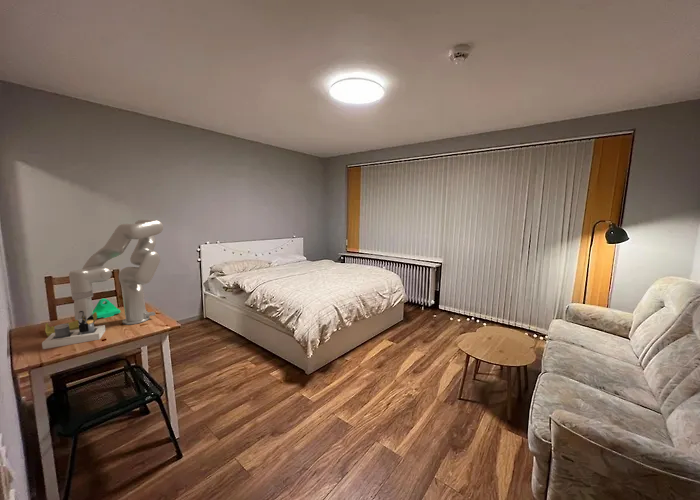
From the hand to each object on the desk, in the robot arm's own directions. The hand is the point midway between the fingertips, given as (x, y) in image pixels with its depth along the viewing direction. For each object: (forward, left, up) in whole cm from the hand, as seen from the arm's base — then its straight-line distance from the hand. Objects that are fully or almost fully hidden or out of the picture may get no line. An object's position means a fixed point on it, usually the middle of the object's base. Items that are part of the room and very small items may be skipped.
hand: (87, 328), depth 142 cm
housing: (+4, 0, -5) cm, 7 cm away
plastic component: (+10, -17, -6) cm, 20 cm away
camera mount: (-1, -35, -6) cm, 35 cm away
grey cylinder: (+9, 0, -5) cm, 10 cm away
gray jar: (0, 0, -5) cm, 5 cm away
